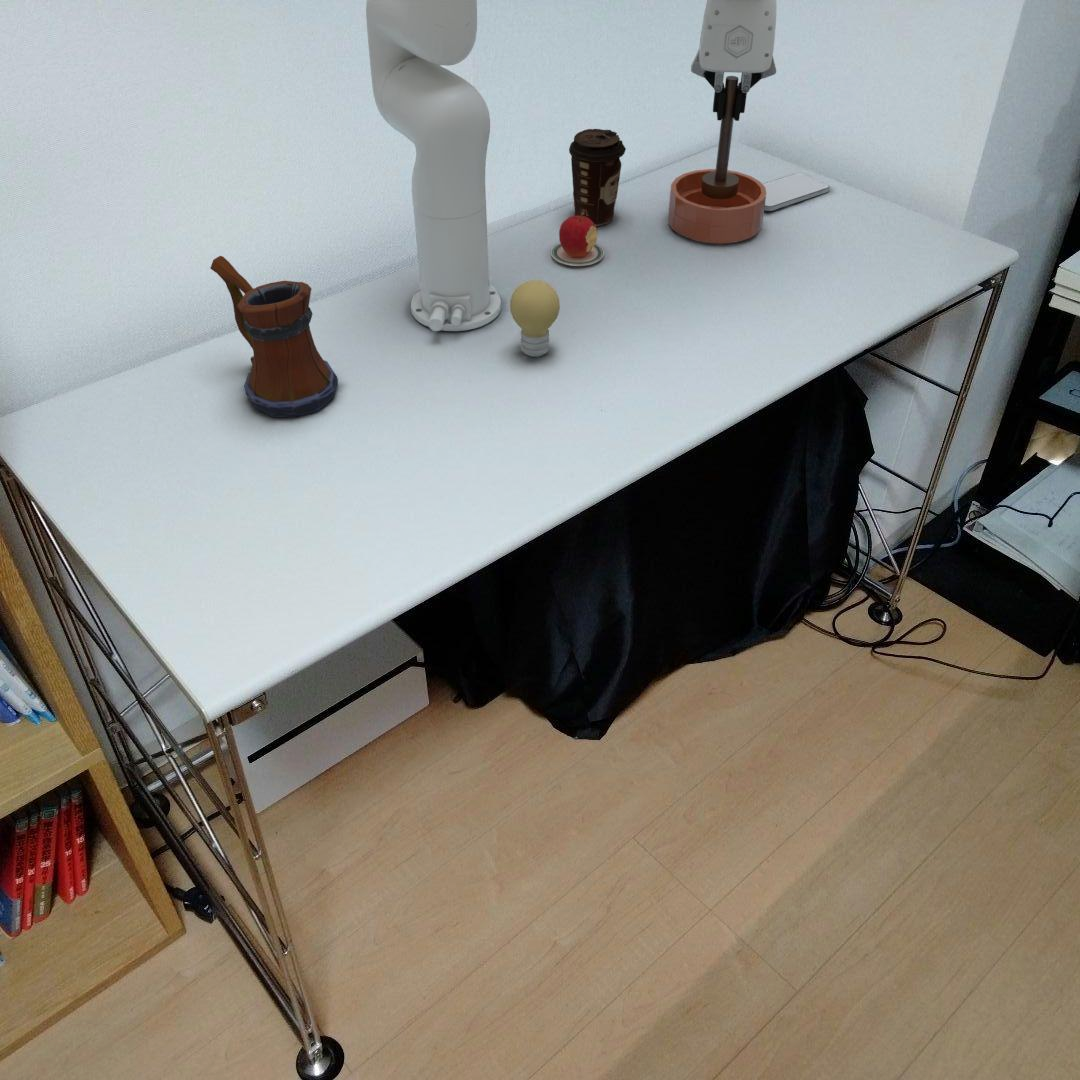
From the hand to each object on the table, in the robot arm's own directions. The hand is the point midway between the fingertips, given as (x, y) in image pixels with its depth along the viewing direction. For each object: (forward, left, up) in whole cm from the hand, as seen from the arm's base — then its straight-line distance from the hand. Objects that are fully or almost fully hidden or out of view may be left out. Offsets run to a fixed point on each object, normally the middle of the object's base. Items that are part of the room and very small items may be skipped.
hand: (727, 116), depth 153 cm
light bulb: (-39, +25, -17) cm, 50 cm away
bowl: (0, 0, -17) cm, 17 cm away
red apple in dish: (-12, +21, -17) cm, 30 cm away
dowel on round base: (0, 0, -12) cm, 12 cm away
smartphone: (+12, -12, -17) cm, 24 cm away
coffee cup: (+1, +19, -17) cm, 26 cm away
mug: (-49, +57, -17) cm, 77 cm away
